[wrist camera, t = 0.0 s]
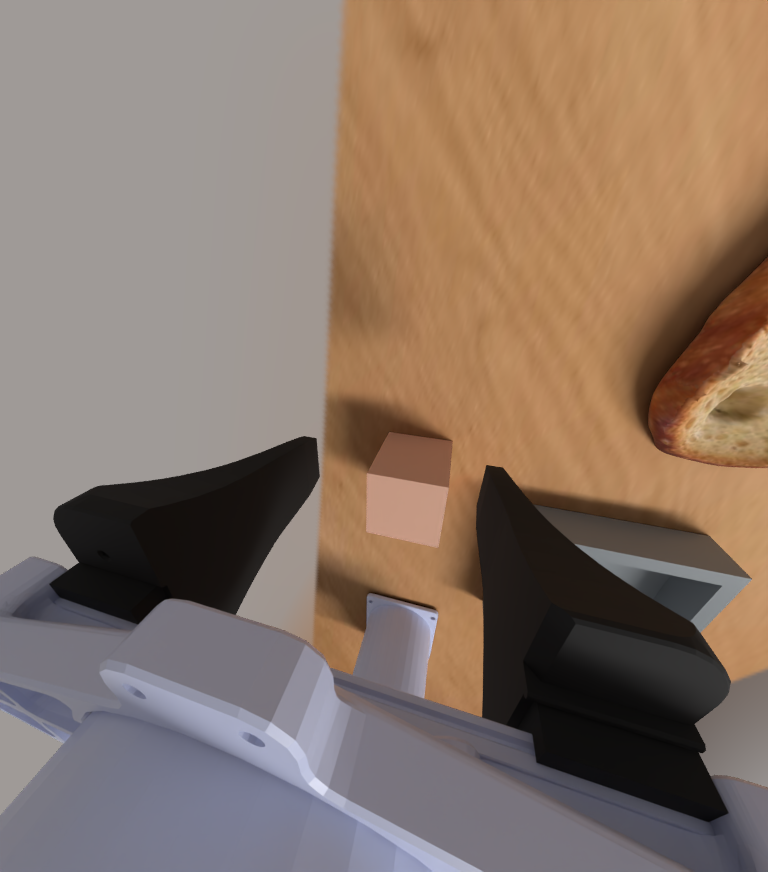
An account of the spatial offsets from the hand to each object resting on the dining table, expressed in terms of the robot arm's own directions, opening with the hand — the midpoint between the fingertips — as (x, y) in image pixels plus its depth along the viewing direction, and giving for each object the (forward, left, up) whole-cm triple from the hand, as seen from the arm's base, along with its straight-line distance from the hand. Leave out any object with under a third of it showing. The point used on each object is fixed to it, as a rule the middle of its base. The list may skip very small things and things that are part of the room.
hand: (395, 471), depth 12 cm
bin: (-14, -14, -10) cm, 23 cm away
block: (-6, 0, -10) cm, 12 cm away
